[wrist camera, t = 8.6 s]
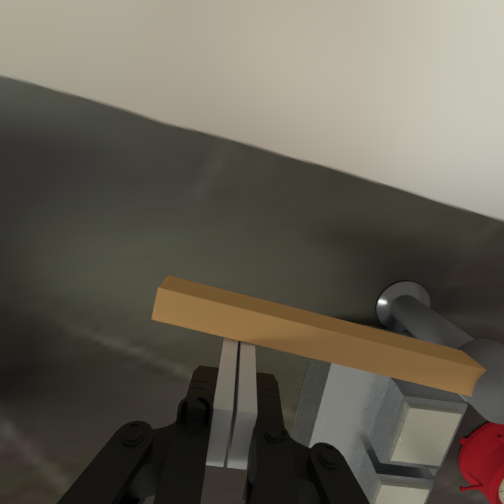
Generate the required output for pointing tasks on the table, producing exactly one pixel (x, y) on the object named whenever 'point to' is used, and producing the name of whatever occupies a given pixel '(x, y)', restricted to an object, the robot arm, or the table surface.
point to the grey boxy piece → (380, 418)
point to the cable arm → (349, 339)
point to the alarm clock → (484, 461)
